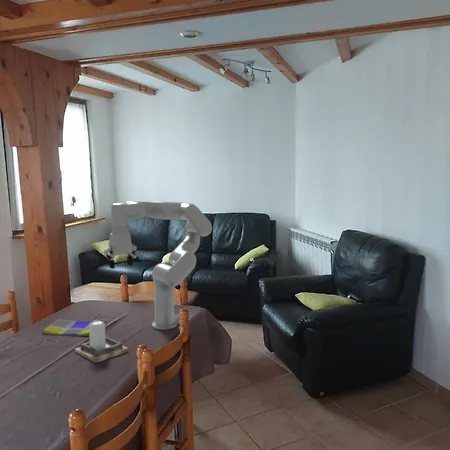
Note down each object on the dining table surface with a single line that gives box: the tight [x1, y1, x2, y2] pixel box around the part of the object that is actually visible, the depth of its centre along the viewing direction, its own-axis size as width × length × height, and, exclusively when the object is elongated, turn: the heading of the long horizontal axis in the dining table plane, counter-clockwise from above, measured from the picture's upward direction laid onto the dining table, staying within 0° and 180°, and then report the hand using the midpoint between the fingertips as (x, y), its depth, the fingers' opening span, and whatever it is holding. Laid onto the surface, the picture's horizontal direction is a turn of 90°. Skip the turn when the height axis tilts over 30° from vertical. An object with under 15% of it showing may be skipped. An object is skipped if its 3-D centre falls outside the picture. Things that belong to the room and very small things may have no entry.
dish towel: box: [42, 318, 93, 337], centre depth 220 cm, size 18×24×3 cm
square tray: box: [74, 335, 129, 364], centre depth 193 cm, size 16×16×4 cm
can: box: [89, 319, 106, 351], centre depth 191 cm, size 6×6×12 cm
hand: (121, 266), depth 207 cm, fingers open, 9 cm apart
